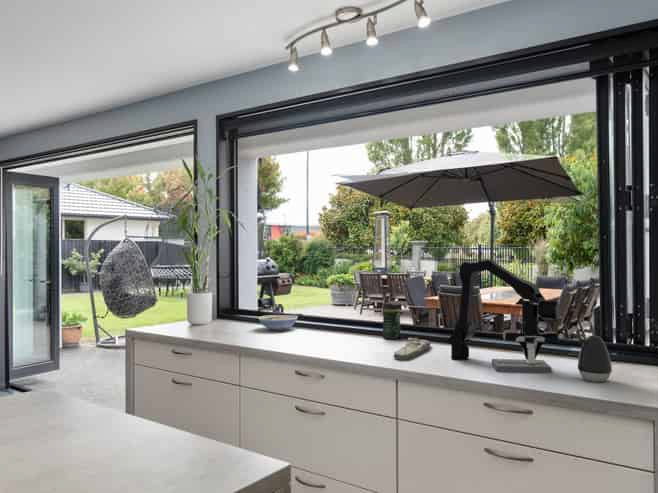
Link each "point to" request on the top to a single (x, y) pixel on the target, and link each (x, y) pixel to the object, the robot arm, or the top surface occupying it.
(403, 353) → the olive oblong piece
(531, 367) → the console
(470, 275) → the robot arm
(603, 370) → the dark grey speaker
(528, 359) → the white small cylinder
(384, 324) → the coffee jar
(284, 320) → the ramen bowl
